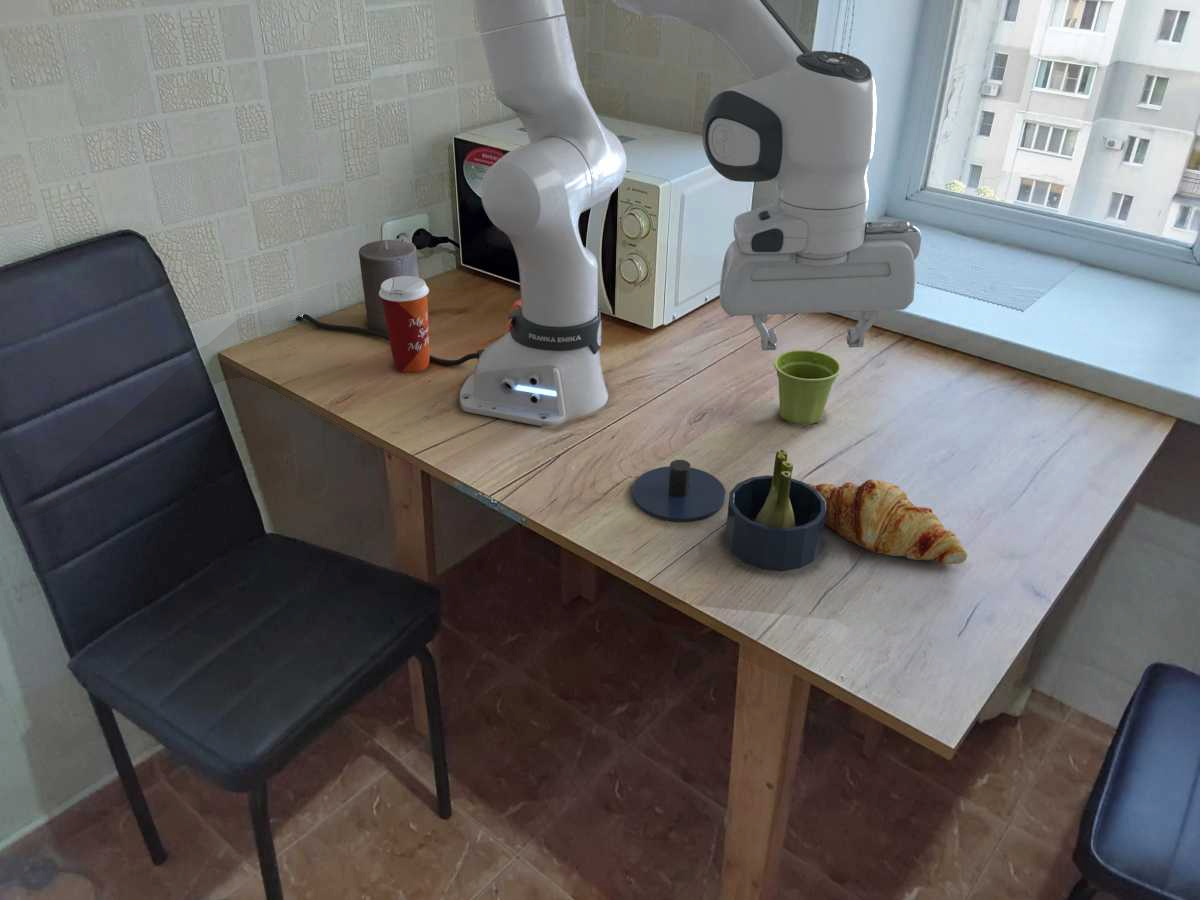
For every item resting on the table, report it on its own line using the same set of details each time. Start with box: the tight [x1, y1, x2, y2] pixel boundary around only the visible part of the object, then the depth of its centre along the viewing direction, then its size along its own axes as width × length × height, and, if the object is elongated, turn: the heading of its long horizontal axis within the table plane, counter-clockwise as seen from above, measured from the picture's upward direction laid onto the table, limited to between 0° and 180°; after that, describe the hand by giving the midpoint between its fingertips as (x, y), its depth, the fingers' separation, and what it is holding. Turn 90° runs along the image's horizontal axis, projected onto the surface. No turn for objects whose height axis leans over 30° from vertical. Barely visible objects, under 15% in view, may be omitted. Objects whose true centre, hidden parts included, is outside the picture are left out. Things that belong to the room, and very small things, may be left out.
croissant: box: [806, 479, 968, 565], centre depth 116 cm, size 21×10×8 cm, turn 53°
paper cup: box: [379, 276, 430, 374], centre depth 152 cm, size 8×8×14 cm
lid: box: [631, 459, 727, 523], centre depth 123 cm, size 12×12×5 cm
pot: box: [724, 474, 826, 572], centre depth 114 cm, size 11×11×6 cm
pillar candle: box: [358, 239, 420, 335], centre depth 166 cm, size 10×10×15 cm
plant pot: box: [773, 349, 842, 425], centre depth 140 cm, size 9×9×9 cm
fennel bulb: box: [754, 449, 796, 528], centre depth 113 cm, size 6×5×12 cm
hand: (811, 346), depth 106 cm, fingers open, 8 cm apart
